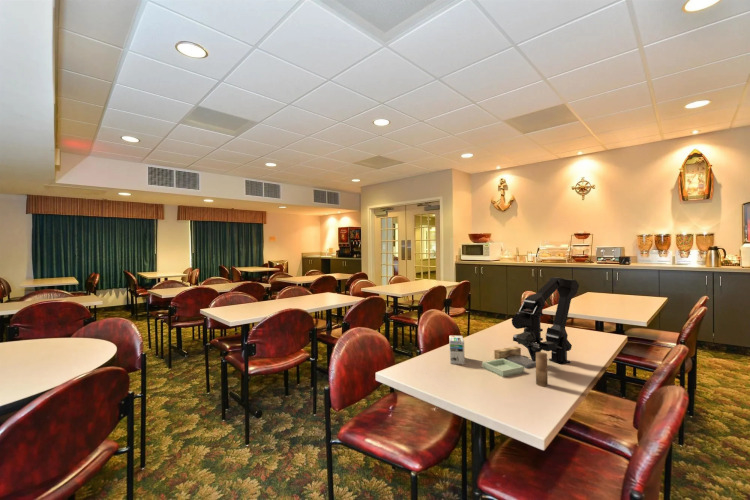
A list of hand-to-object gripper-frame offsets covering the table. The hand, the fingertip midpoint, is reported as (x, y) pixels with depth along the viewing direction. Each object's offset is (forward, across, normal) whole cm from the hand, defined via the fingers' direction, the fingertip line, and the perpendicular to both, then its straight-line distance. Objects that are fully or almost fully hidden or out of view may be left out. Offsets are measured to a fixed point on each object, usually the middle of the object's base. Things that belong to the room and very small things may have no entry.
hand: (533, 361), depth 145 cm
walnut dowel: (+3, +15, -13) cm, 20 cm away
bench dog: (+3, -15, 0) cm, 16 cm away
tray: (+3, -3, -15) cm, 16 cm away
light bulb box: (+3, -22, -25) cm, 34 cm away
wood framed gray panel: (+3, -7, 0) cm, 8 cm away
